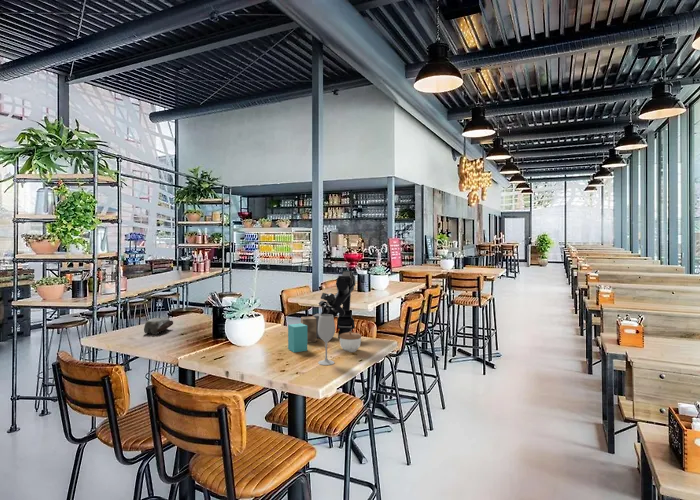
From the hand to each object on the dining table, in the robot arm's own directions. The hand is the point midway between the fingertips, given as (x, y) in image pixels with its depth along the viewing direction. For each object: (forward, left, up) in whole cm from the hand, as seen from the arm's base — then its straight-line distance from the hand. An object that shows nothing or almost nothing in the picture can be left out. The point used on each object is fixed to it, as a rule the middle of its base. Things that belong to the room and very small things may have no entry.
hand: (320, 321), depth 216 cm
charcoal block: (+7, -21, -13) cm, 25 cm away
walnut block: (+10, -11, -13) cm, 20 cm away
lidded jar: (-15, 0, -14) cm, 21 cm away
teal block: (+9, +9, -13) cm, 18 cm away
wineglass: (-10, +23, -14) cm, 29 cm away
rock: (+102, -11, -14) cm, 104 cm away
